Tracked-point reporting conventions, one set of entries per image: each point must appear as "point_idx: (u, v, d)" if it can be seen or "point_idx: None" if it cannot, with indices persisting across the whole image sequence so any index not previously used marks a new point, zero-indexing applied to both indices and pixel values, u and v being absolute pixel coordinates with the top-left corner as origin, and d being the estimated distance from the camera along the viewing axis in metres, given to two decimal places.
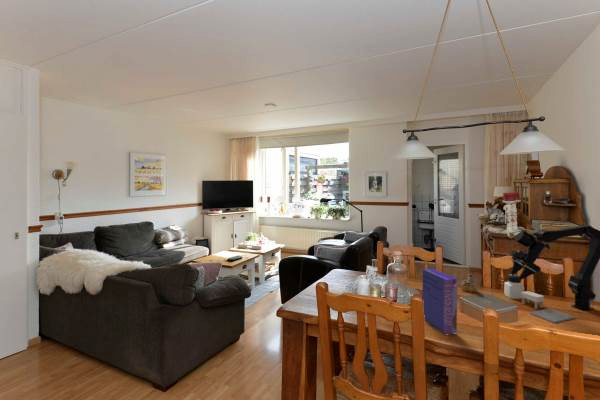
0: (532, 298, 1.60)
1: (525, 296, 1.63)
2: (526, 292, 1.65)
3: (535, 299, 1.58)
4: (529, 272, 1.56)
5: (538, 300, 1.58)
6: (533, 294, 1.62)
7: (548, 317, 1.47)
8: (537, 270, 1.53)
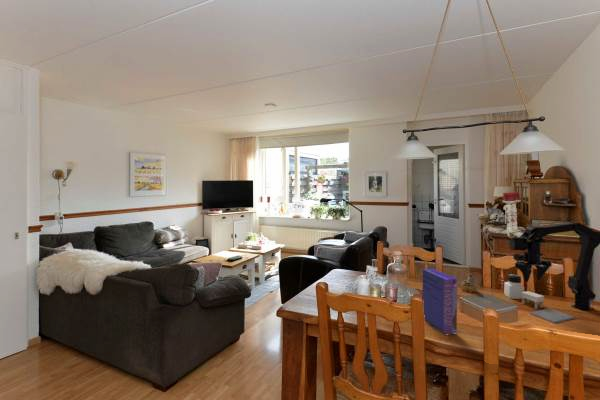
0: (532, 298, 1.60)
1: (525, 296, 1.63)
2: (526, 292, 1.65)
3: (535, 299, 1.58)
4: (526, 272, 1.59)
5: (538, 300, 1.58)
6: (533, 294, 1.62)
7: (548, 317, 1.47)
8: (523, 268, 1.57)
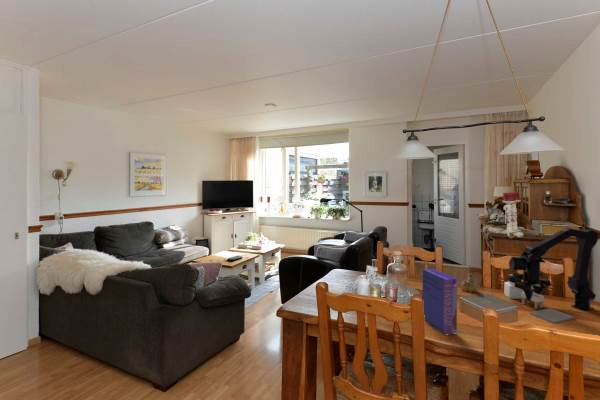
0: (532, 298, 1.60)
1: (525, 296, 1.63)
2: None
3: (535, 299, 1.58)
4: (529, 291, 1.60)
5: (538, 300, 1.58)
6: (533, 294, 1.62)
7: (548, 317, 1.47)
8: (523, 288, 1.57)
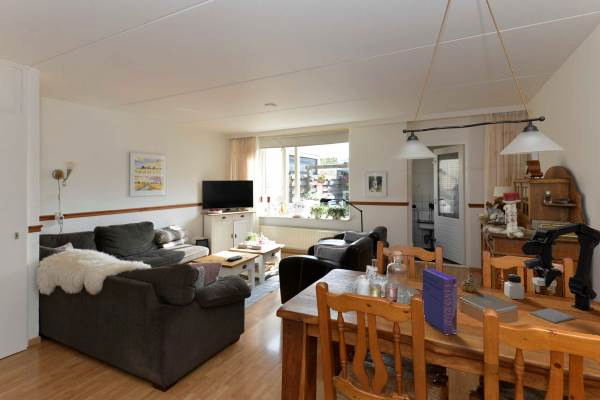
0: (551, 283, 1.51)
1: (542, 283, 1.52)
2: (538, 279, 1.54)
3: (554, 283, 1.51)
4: (551, 277, 1.50)
5: None
6: None
7: (548, 317, 1.47)
8: (560, 275, 1.44)
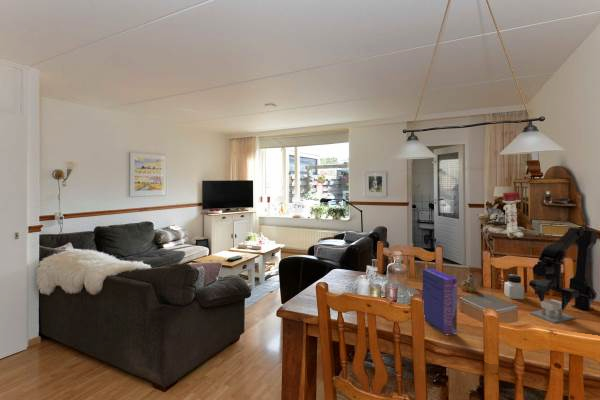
0: (560, 306, 1.48)
1: (555, 308, 1.47)
2: (549, 303, 1.48)
3: None
4: (568, 298, 1.44)
5: None
6: (553, 302, 1.50)
7: (548, 317, 1.47)
8: (577, 295, 1.41)
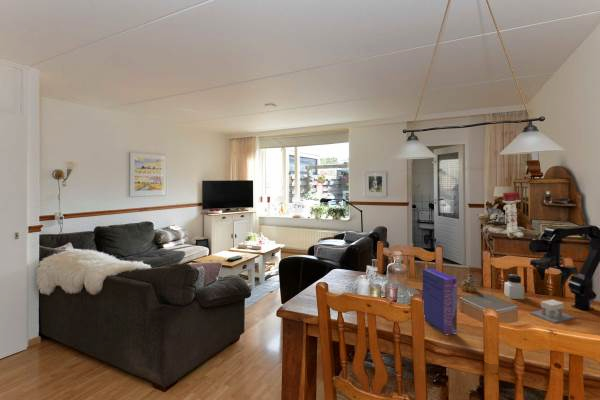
0: (560, 306, 1.48)
1: (555, 308, 1.47)
2: (549, 303, 1.48)
3: (562, 306, 1.48)
4: (567, 275, 1.52)
5: None
6: (553, 302, 1.50)
7: (548, 317, 1.47)
8: (576, 271, 1.49)
